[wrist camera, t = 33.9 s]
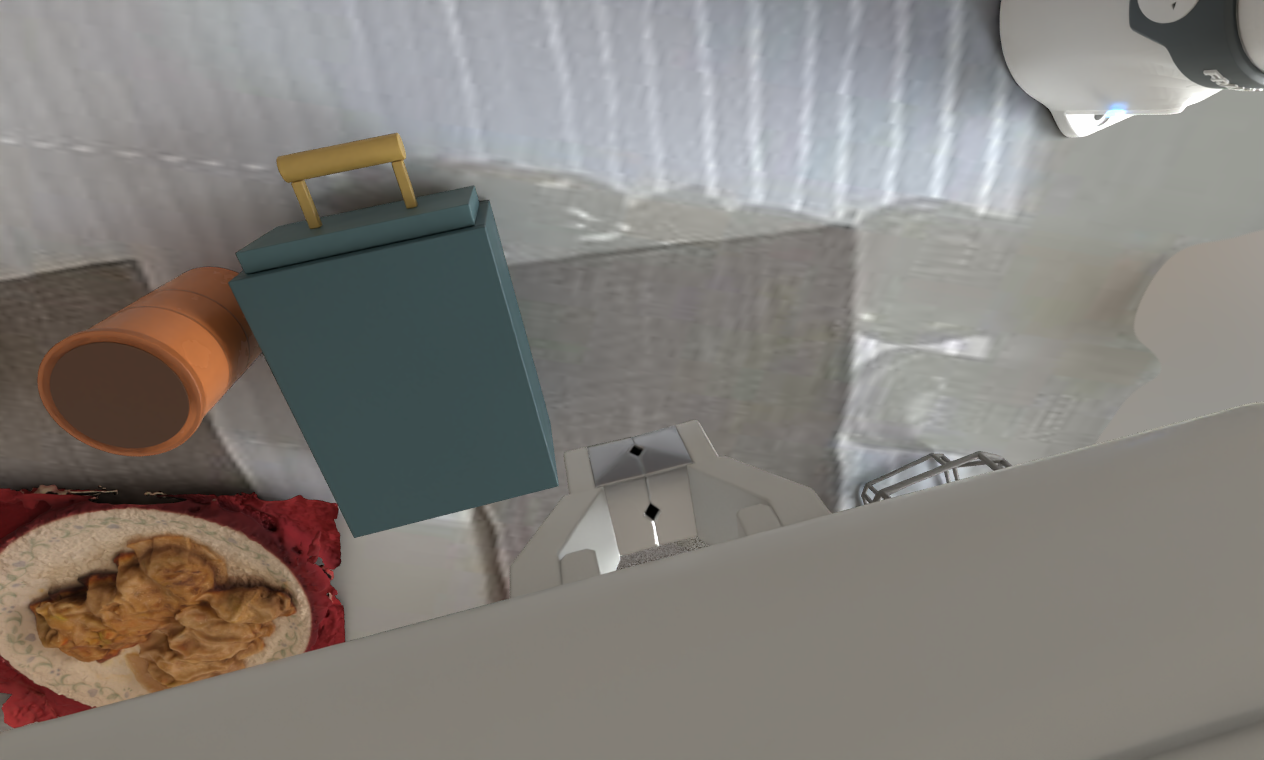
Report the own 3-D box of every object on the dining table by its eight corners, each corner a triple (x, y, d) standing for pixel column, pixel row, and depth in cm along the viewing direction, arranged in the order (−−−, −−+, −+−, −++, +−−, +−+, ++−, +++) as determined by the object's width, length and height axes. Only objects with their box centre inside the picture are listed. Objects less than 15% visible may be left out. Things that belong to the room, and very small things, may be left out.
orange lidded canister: (251, 253, 40) (156, 316, 29) (296, 349, 43) (226, 438, 32) (139, 277, 39) (2, 350, 28) (193, 373, 42) (87, 471, 32)
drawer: (247, 159, 37) (197, 175, 31) (455, 118, 38) (446, 125, 32) (372, 445, 46) (352, 500, 40) (536, 405, 47) (541, 453, 41)
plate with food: (-62, 474, 42) (-108, 505, 39) (341, 492, 48) (328, 520, 45) (20, 710, 52) (-11, 749, 49) (347, 702, 57) (337, 738, 54)
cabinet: (280, 244, 40) (226, 282, 32) (489, 199, 41) (485, 226, 33) (378, 465, 48) (353, 538, 40) (550, 423, 49) (558, 486, 41)
